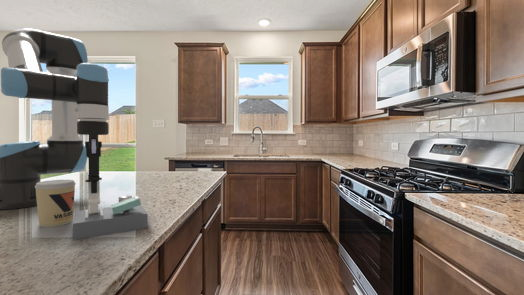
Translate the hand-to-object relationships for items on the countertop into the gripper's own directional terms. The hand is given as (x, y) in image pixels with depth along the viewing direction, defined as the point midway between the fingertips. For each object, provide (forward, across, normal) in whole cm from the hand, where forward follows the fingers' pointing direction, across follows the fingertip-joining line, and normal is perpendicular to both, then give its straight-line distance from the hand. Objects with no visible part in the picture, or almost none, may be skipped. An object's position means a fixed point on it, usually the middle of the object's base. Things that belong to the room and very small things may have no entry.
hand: (94, 203), depth 76 cm
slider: (+2, +2, 0) cm, 3 cm away
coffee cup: (+6, -8, -9) cm, 14 cm away
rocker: (0, +7, +7) cm, 10 cm away
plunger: (+2, 0, +8) cm, 8 cm away
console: (+6, +4, +4) cm, 8 cm away
